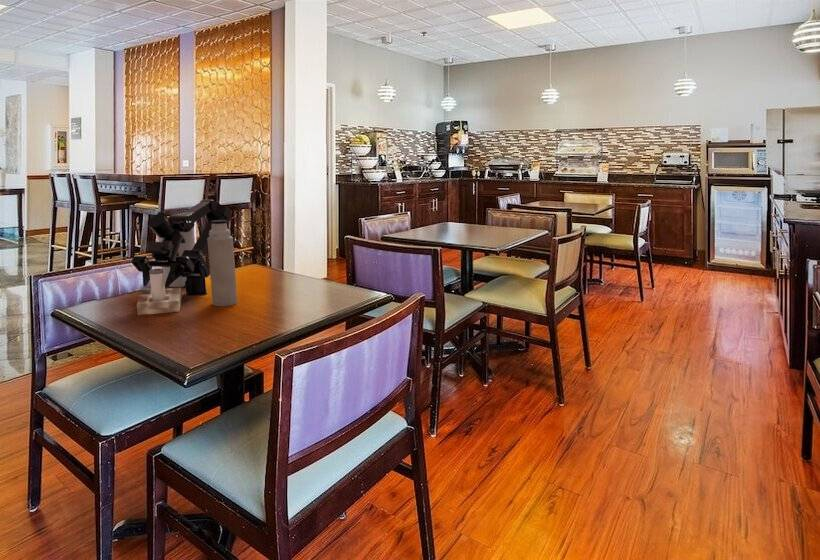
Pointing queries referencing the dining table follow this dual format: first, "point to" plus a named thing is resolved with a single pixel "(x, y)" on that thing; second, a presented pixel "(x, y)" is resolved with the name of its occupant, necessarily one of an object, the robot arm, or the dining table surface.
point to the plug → (157, 285)
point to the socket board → (159, 302)
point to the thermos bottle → (222, 264)
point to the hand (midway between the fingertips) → (155, 286)
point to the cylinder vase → (183, 246)
